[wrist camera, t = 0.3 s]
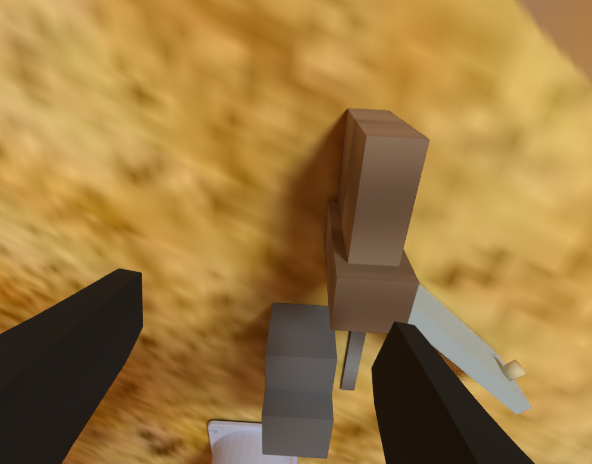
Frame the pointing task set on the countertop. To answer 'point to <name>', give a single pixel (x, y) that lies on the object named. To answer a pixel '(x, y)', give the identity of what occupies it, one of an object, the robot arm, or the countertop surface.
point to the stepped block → (298, 382)
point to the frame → (372, 229)
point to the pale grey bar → (468, 351)
